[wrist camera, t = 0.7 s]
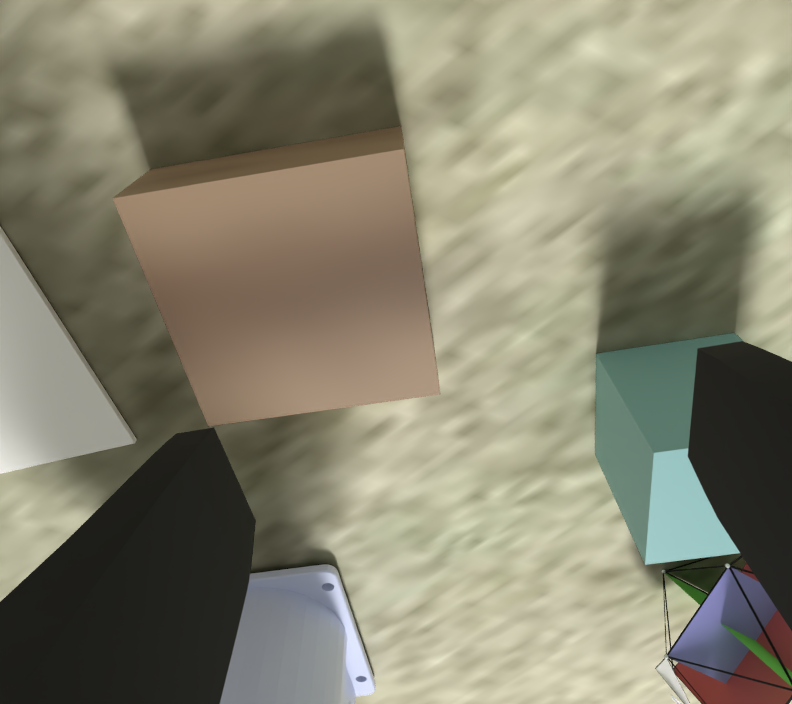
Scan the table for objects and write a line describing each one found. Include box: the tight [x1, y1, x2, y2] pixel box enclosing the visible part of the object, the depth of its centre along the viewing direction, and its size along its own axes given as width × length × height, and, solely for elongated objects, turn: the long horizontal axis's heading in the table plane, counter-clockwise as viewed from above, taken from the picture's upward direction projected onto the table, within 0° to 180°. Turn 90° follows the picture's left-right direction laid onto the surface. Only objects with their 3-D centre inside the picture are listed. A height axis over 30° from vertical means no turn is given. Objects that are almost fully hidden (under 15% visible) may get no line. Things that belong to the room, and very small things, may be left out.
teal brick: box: [595, 333, 744, 565], centre depth 19 cm, size 4×4×5 cm
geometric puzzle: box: [655, 555, 792, 704], centre depth 23 cm, size 7×7×8 cm
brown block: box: [113, 126, 440, 426], centre depth 17 cm, size 7×7×3 cm
